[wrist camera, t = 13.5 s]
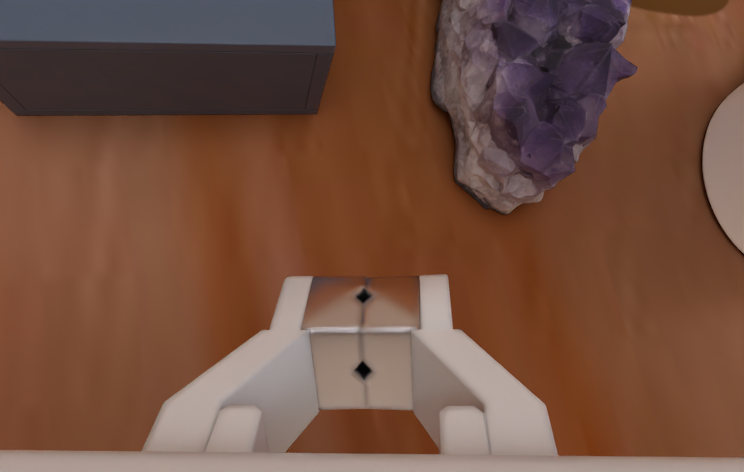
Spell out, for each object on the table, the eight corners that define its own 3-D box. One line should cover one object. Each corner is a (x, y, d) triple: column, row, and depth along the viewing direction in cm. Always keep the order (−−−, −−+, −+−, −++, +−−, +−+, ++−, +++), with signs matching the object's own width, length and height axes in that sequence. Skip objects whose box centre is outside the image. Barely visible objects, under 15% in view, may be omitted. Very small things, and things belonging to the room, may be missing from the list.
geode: (600, 222, 40) (686, 193, 30) (421, 214, 39) (448, 181, 30) (598, -72, 42) (677, -189, 33) (430, -84, 42) (458, -206, 32)
